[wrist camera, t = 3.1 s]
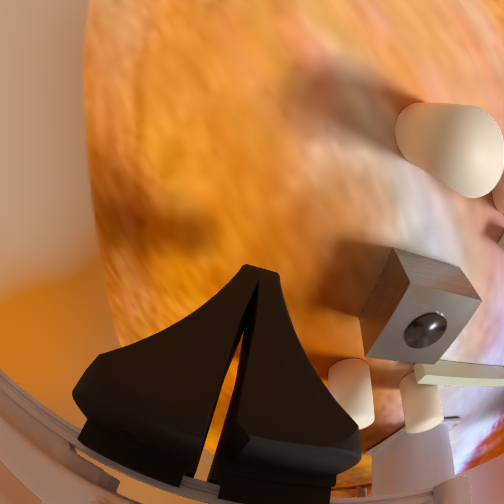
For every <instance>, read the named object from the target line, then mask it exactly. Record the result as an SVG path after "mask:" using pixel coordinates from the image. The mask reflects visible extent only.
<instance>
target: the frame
mask: <svg viewBox="0 0 504 504" xmlns="http://www.w3.org/2000/svg"><path fill="white" fill-rule="evenodd" d="M498 245H499V246H500V247H501V248H502V249H503V250H504V233H503V235H502V237H501V239H500V241H499V243H498ZM413 369H414V373H415V377H416V381H417V383H419V384H431V385H448V386H504V367H503V366H490V365H478V364H468V363H459V362H451V361H443V360H438V361H437V362H436V363H435V364H434V365H433V364H421V363H416V364H415V365H414V366H413Z"/></svg>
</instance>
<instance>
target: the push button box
mask: <svg viewBox="0 0 504 504" xmlns="http://www.w3.org/2000/svg"><path fill="white" fill-rule="evenodd" d="M481 302H482V300H481V298H480V297H479V295H478V294H477V292H476V290H475V289H474V287H473V286H472V284H471V283H470V281H469V280H468V278H467V277H466V276H465V274H464V273H463V271H462V270H461V268H459V267H456V266H453V265H450V264H447V263H443V262H440V261H437V260H434V259H430V258H427V257H424V256H420V255H417V254H414V253H410V252H407V251H403V250H400V249H397V248H393V249H392V252H391V254H390V256H389V258H388V261H387V263H386V265H385V267H384V269H383V271H382V274H381V276H380V278H379V280H378V282H377V284H376V286H375V288H374V290H373V292H372V294H371V296H370V298H369V300H368V302H367V304H366V306H365V307H364V309H363V311H362V313H361V315H360V317H359V320H360V327H361V333H362V340H363V346H364V354H365V357H370V358H377V359H385V360H393V361H401V362H411V363H421V364H433V365H434V364H435V363H436V362H437V361H438V360H439V359H440V357H441V356H442V355H443V354H444V353H445V351H446V350H447V349H448V348H449V347H450V345H451V344H452V343H453V341H454V340H455V339H456V338H457V336H458V335H459V334H460V332H461V331H462V330H463V328H464V327H465V325H466V324H467V323H468V321H469V320H470V318H471V317H472V315H473V314H474V313H475V311H476V310H477V308H478V307H479V305H480V303H481Z"/></svg>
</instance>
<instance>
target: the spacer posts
mask: <svg viewBox="0 0 504 504" xmlns="http://www.w3.org/2000/svg"><path fill="white" fill-rule="evenodd" d="M395 139H396V143H397V146H398V148H399V150H400V152H401V153H402V155H403V156H404V157H405V158H406V159H407V160H408V161H409V162H411V163H412V164H414V165H416V166H417V167H419V168H420V169H422V170H424V171H425V172H427V173H428V174H430V175H431V176H433V177H435V178H436V179H438V180H439V181H441V182H442V183H444V184H445V185H446V186H448V187H449V188H451V189H452V190H454V191H455V192H456V193H458V194H459V195H461V196H464V197H467V198H478V197H482V196H484V195H486V194H487V193H489V192H490V191H491V190H492V198H493V202H494V205H495V207H496V208H497V210H498V211H499V212H501V213H502V214H503V215H504V139H503V136H502V133H501V130H500V128H499V126H498V125H497V123H496V122H495V120H494V119H493V118H492V117H491V115H489V114H488V113H487V112H486V111H484V110H483V109H481V108H478V107H475V106H469V105H458V104H444V103H413V104H410V105H409V106H407V107H406V108H404V109H403V110H402V111H401V113H400V114H399V116H398V118H397V121H396V125H395ZM399 387H400V393H401V399H402V405H403V412H404V419H405V426H406V432H407V433H411V434H414V433H420V432H424V431H427V430H429V429H431V428H433V427H435V426H437V425H438V424H440V423H441V422H442V421H443V419H444V416H443V411H442V406H441V402H440V398H439V394H438V390H437V386H436V385H431V384H419V383H417V381H416V377H415V373H414V372H412V373H410V374H408V375H406V376H405V377H404V378H403V379H402V380H401V381H400V383H399ZM328 390H329V392H330V393H331V394H332V396H333V397H334V398H335V400H336V401H337V402H338V403H339V404H340V406H341V407H342V408H343V409H344V410H345V411H346V412H347V413H348V414H349V415H350V417H351V418H352V419H353V420H354V421H355V422H356V423H357V424H358V426H359V429H362V428H365V427H367V426H369V425H370V424H372V423H373V422H374V407H373V396H372V387H371V378H370V370H369V365H368V363H367V362H366V361H364V360H361V359H357V358H350V359H344V360H341V361H338V362H336V363H335V364H333V365H332V366H331V367H330V369H329V371H328Z"/></svg>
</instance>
